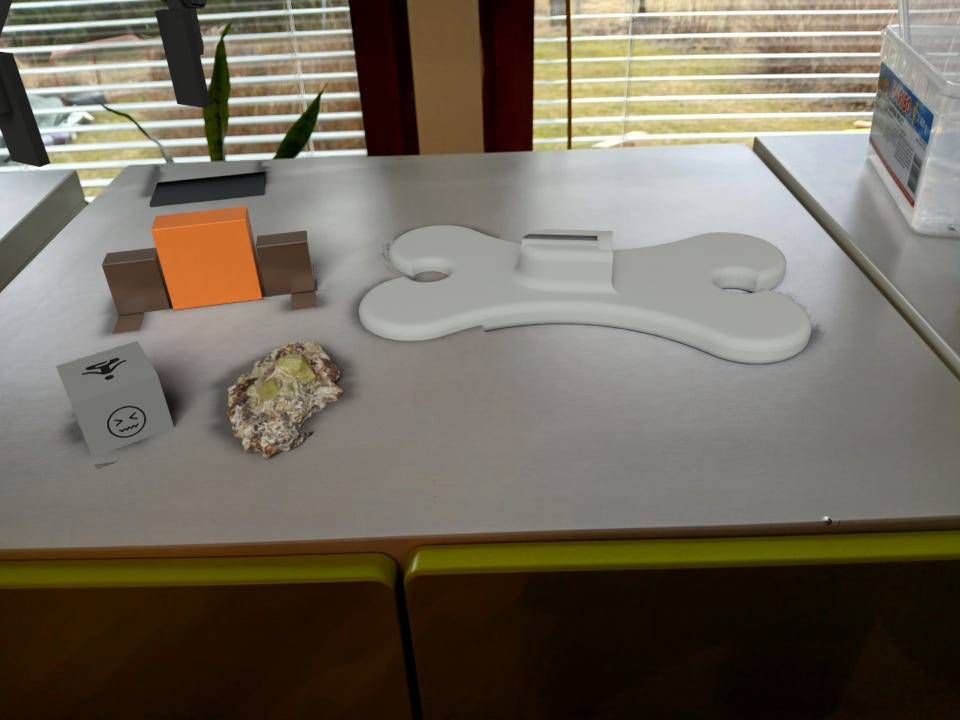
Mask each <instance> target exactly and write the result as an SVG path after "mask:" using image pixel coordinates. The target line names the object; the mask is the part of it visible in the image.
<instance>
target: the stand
mask: <svg viewBox="0 0 960 720" xmlns="http://www.w3.org/2000/svg"><path fill="white" fill-rule="evenodd" d="M255 247H256V252H257V257H258V262H259V266H260V271H261V276H262V281H263V295H262V299H265V298H266V299H267V298H273V297H274V298H275V297H281V296H282V297H283V296H289V295H291V296H290V299H291V301H290V302H291V303H290V304H291V312H297V311H298V312H299V311H305V310H314V309H317V308H318V306H317V292H318V291H319V286H318V279H317V278H316V277H315V265H314V264H313V261H312V255H311V249H310V244H309V237H308V231H307V230H298V231H290V232H281V233H272V234H271V233H270V234H264V235H257V236H256V241H255ZM101 268H102V270H103V274H104V276H105V281H106V282H107V286H108V289H109V291H110V292H109V293H110V294H111V298H112V300H113V303H114V306H115V310H116V314H115V316H116V317H117V319H116V322H115V325H114V327H113V330H112V333H111V334H112V335H120V334H127V333H128V334H129V333H136V332H140V329H141V326H142V323H143V319H144V316H145V314H147V313H154V312H155V313H156V312H163V311H170V310H174V309H173V306H172V302H171V299H170V295H169V292H168V288H167V284H166V281H165V277H164V274H163V270H162V267H161V263H160V260H159V256H158V253H157V249H156V247H149V248H139V249H131V250H123V251H114V252H106V254H105V256H104V258H103V261H102V263H101Z"/></svg>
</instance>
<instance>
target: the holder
mask: <svg viewBox="0 0 960 720" xmlns="http://www.w3.org/2000/svg"><path fill="white" fill-rule="evenodd" d="M613 238H614V231H613V230H589V229H588V230H587V229H585V230H583V229H582V230H581V229H540V230H535V231H532V232H529V233H528V234H526V235H524V236H523V237H522V240H521V243H518V242H515V241H510V240H506V239H501V238H499V237H495V236H491V235H488V234H486V233H482V232H480V231H478V230H475V229H472V228H469V227H465V226H461V225H451V224H438V225H429V226H423V227H418V228H415V229H411V230H410V231H408V232H405V233H403V234H401V235H400V236H398V237H397V238H396V239H395V240H394V241H393V242H392V243H391V245H390V247H389V249H388V259H389V263H390V264H391V266H392V267H393V268H394V269H395V270H397V271H399V272H401V273H403V274H405V275H408V276H412V277H413V276H416V275H417V274H420V273H424V272H425V273H426V272H438V273H442V274H445V275H446V276H447V277H445V278H442V279H440V280H436V281H417V280H413V279H410V278H409V277H408V276H400V277H394V278H392V279H389V280H386V281H383V282H382V283H380V284H378V285H376V286H374V287H373V288H371V289H370V290H369V291H368V292H367V293H366V294H365V295H364V296H363V298H362V299H361V301H360V304H359V308H358V315H359V320H360V322H361V324H362V326H363V327H364V328H365V329H366V330H367V331H369V332H370V333H372V334H374V335H376V336H379V337H382V338H385V339H388V340H389V339H390V340H394V341H402V342H403V341H405V342H407V341H408V342H413V341H414V342H415V341H426V340H431V339H437V338H440V337H443V336H444V337H445V336H448V335H450V334H454V333H457V332H459V331H463V330H467V329H471V328H475V327H480V326H481V327H482V328H483V331H484V332H487V331H492V330H497V329H502V328H504V329H505V328H509V327H510V328H511V327H519V326H528V325H545V324H576V325H577V324H578V325H593V326H602V327H603V326H604V327H611V328H618V329H619V328H620V329H624V330H631V331H636V332H640V333H645V334H649V335H653V336H657V337H661V338H665V339H668V340H671V341H676V342H678V343H681V344H684V345H687V346H689V347H692V348H695V349H698V350H700V351H703V352H705V353H708V354H710V355H711V356H714V357H717V358H720V359H723V360H727V361H731V362H736V363H741V364H751V365H762V364H763V365H764V364H774V363H778V362H783V361H786V360H788V359H789V360H790V359H791V358H793V357H795V356H796V355H798V354H800V353H801V352H802V351H803V350H804V349H805V348H806V346H807V345H808V343H809V341H810V337H811V333H812V328H813V327H812V320H811V318H810V315H809V314H808V313H807V310H805V308H804V307H803V306H802V305H801V304H799V303H798V302H796V301H795V300H793V299H792V298H790V297H788V296H786V295H784V294H782V293H779V292H777V291H773V290H772V289H774V288H775V287H777V286H778V285H779V284H780V283H781V282H782V281H783V280H784V277H785V274H786V271H787V259H786V256H785V255H784V253H783V252H782V251H781V249H779V248H778V246H776V245H774V244H773V243H772V242H770V241H768V240H765V239H763V238H760V237H757V236H753V235H749V234H746V233H745V234H744V233H739V232H730V231H729V232H728V231H727V232H726V231H722V232H721V231H717V232H707V233H702V234H698V235H694V236H691V237H688V238H684V239H681V240H677V241H673V242H667V243H662V244H658V245H651V246H644V247H636V248H623V249H613V241H614V239H613ZM725 289H738V290H743V291H744V290H745V291H746V293H743V292H742V293H741V292H740V293H739V292H733V291H728V290H725ZM747 291H748V292H749V293H747Z"/></svg>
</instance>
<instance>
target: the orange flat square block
mask: <svg viewBox="0 0 960 720" xmlns="http://www.w3.org/2000/svg"><path fill="white" fill-rule="evenodd" d="M150 232H151V235H152V238H153V242H154V245H155V248H156V249H157V253H158V256H159V260H160V263H161V267H162V270H163V274H164V277H165V281H166V284H167V288H168V292H169V295H170V299H171V302H172V306H173V309H172V310H174V311H177V310H185V309H193V308H200V307H209V306H217V305H224V304H233V303H240V302H248V301H257V300H262V299H263V298H262V295H263V286H264V283H263V278H262V273H261V268H260V264H259V259H258V254H257V249H256V241H255V238H254V234H253V227H252V223H251V219H250V214H249V209H248V206H247V205H244V206H236V207H225V208H216V209H207V210H199V211H188V212H180V213H171V214H161V215H156V216H155V217H154V221H153V223H152V227H151V230H150Z"/></svg>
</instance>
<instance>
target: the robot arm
mask: <svg viewBox="0 0 960 720" xmlns="http://www.w3.org/2000/svg"><path fill="white" fill-rule="evenodd" d="M160 2H161V3H163V5H164V6H166V7H167V8H161V9H157V10H154V13H155V17H156V23H157V27H158V30H159V34H160V38H161V42H162V46H163V50H164V55H165V60H166V63H167V67H168V71H169V76H170V80H171V84H172V88H173V92H174V97H175V101H176V104H177V105H179V106H187V107H193V108H194V107H195V108H201V109H205V108H208V107H211V106H212V103H211V98H210V94H209V89H208V86H207V81H206V77H205V71H204V68H203V67H204V66H203V63H202V59H201V58H202V57H201V56H203V55H204V54H205V45H204V40H203V35H202V32H201V26H200V21H199V16H198V10H203V9H205V8H206V6H207V4H208V0H160ZM12 3H13V0H0V37H1V36H2V33H3V30H4V27H5V24H6V23H7V22H6V21H7V19H8V15H9V13H10V9H11V6H12ZM16 61H17V60H16V59H15V55H14V52H6V51H0V132H1V135H2V138H3V140H4V143H5V146H6V149H7V152H8V154H9V157H10V159H11V161H12V162H15V163H19V164H24V165H27V166H33V167H37V168H41V167H44V166H47V165H50V164H51V161H50V158H49V155H48V152H47V148H46V146H45V143H44V141H43V138H42V133H41V131H40V129H39V125H38V122H37V120H36V116H35V114H34V111H33V108H32V105H31V103H30V99H29V97H28V94H27V90H26V87H25V84H24V81H23V79H22V75H21V73H20V69H19V67H18V63H17V62H16Z"/></svg>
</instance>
